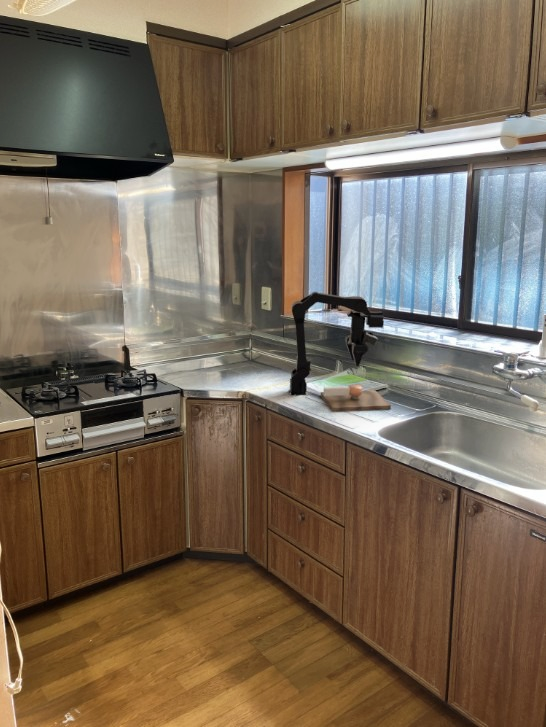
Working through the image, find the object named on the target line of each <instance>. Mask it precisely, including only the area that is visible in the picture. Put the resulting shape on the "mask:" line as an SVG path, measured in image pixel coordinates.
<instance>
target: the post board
mask: <svg viewBox="0 0 546 727" xmlns="http://www.w3.org/2000/svg"><path fill="white" fill-rule="evenodd" d="M320 395H321V396H320V397H321V398H322V399H323V401H324V402H325V404H326V405H327V407H328V408H329V409H330V411H331V412H352V411H354V412H355V411H371V410H372V411H375V410H391V409H392V408H391V404H390V403H389V402H388V401H387V400H386V399H385V398H384V397H382V395H381V394H380V393H378V392H377V391H376V390H375V389H373V390H372V389H370V390H368V389H367V390H362V395H361V396H351V395H337V396H324V391H321V392H320Z"/></svg>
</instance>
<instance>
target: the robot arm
mask: <svg viewBox="0 0 546 727" xmlns="http://www.w3.org/2000/svg"><path fill="white" fill-rule="evenodd" d="M316 303H321V304H326V305H332V306H337V307H343V308H346V309H349V310H350V311H349V312H347V313H346V315H347V317H348V318H351V319H350V320H351V321H350V328H349V332H350V334H349V335H346V336H345V344H346V347H347V350H348V353H349V355H350V359H351V361H354V363H355V366H356V367H359V366H360V364H361V361H362V358H363V357H364V355H365V354H367V353H368V352H369V350H370V349H369V346H368V345H367V343H368V344H371V345H372V346H376V344H377V341H378V339H379V338H378V337H377V336H375V335H374V333H373V332H372V331H370V330H369V331H366V329H365V327H366V326H368V328H369V329H370V328H371V329H375V328H376V329H383V328H384V323H385V320H384V312H383V311H371V310H370V309H369V308H368V304H367V301H366V299H364V297H362V296H359V295H357V296H356V295H355V296H341V295H335V294H327V293H322V292H318V291H312V293H310V294H309V295H307V296H305V297H303V298H302V299H301V300H295V301H294V302H293V303H292V305H291V313H292V317H293V321H294V325H295V339H296V352H297V353H296V354H297V355H296V363H295V368H294V369H293V370H292V371H291V372H290V377H291V378H290V379H289V390H288V392H289V394H290V396H306V395H307V386H308V384H307V382H306V378H307V377H308V376H310V373H311V372H310V371H312V367H311V358H310V357H307V351H306V350H307V348H306V337H305V335H306V334H305V319H306V314H307V313H306V311H307V310H309V309H310V308H312V307H313V306H315V304H316ZM361 313H362V314H361Z"/></svg>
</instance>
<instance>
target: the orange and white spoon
mask: <svg viewBox="0 0 546 727" xmlns="http://www.w3.org/2000/svg"><path fill="white" fill-rule="evenodd" d="M362 391H363V387H362V386H361V385H360V384H359V385H357V384H350V385H348V386H328V387H327V386H326V387H325V386H324V387H323V392H324V396H337V395H351V396H361V395H362Z"/></svg>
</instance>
